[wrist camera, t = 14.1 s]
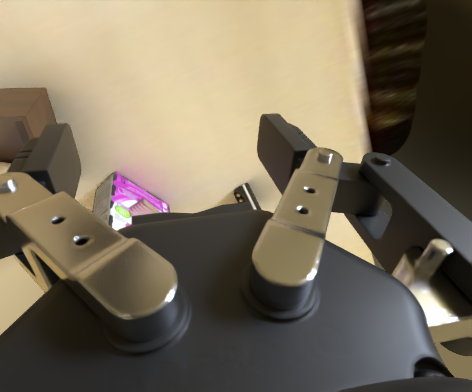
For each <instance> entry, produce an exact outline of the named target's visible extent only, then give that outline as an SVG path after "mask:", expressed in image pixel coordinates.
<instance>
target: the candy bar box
mask: <svg viewBox="0 0 472 392" xmlns="http://www.w3.org/2000/svg"><path fill="white" fill-rule="evenodd" d="M161 212H168V213H170V211H169V205H168V204H166V203H165V202H163V201H161V200H160V199H158V198H157V197H155V196H153V195H152V194H150V193H148V192H147V191H145V190H144V189H142V188H140V187H139V186H137V185H135V184H134V183H132V182H131V181H129V180H127V179H126V178H124V177H123V176H121V175H119V174H118V173H116V172H113V173H112V174H111V175H110V176H109V178H108V179H107V180H106V181H105V182H104V183H103V184H102V185H101V186H100V187H99V188H98V189H97V190H96V193H95V200H94V205H93V212H92V213H94V214H95V215H96V216H98V217H99V218H100V219H102V220H103V221H104V222H106V223H107V224H108V225H110V226H111V227H112V228H114V229H115V230H116V231H117V230H119V229H121V228H123V227H126V226H129V225H132V216H136V215H144V214H152V213H161Z"/></svg>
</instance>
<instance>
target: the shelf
mask: <svg viewBox="0 0 472 392" xmlns="http://www.w3.org/2000/svg"><path fill="white" fill-rule="evenodd" d="M46 124H57V123H56V120H55V116H54V113H53V110H52V107H51V104H50V101H49V98H48V94H47V91H46V88H11V89H0V162H7V163H11V164H12V162H13V160H14V159H16V158H15V157H16V155H17V154H18V153H19V150H20V149H21V147H22V145H23V144H24V143H26V142H27V141H29V140H30V139H32V138H34V137H40V135H41V133H42V131H43V129H44V127H45V125H46Z"/></svg>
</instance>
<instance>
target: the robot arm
mask: <svg viewBox="0 0 472 392" xmlns="http://www.w3.org/2000/svg"><path fill="white" fill-rule="evenodd" d="M257 153H258V157H259V159H260V161H261V162H262V164H263V166H264V167H265V169H266V170H267V172H268V173H269V175H270V177H271V178H272V180H273V181H274V183H275V185H276V186H277V188H278V189H279V191H280V192H281V194H282V198H281V200H280V202H279V204H278V206H277V208H276V210H275V212H274V213H271V212H268V211H263V210H256V209H253V208H252V206H251V204H250V202H243V203H235V204H227V205H221V206H218V207H215V208H211V209H208V210H205V211H202V212H198V213H193V214H191V213H168V212H161V213H152V214H144V215H136V216H132V225H129V226H126V227H123V228H121V229H119V230H117V231H116V230H115V229H114V228H112V227H111V226H110V225H108V224H107V223H106V222H104V221H103V220H102V219H100V218H99V217H98V216H96V215H95V214H94V213H92V212H91V211H90V210H88V209H87V208H86V207H84V206H83V205H82V204H81V203H79V202H78V201H77V200H75V195H76V191H77V187H78V183H79V179H80V175H81V164H80V159H79V155H78V152H77V148H76V145H75V141H74V138H73V135H72V131H71V128H70V126H69V124H67V123H64V124H46V125H45V127H44V129H43V131H42V133H41V135H40V137H34V138H32V139H30V140H29V141H27V142H26V143H24V144H23V145H22V147H21V149H20V150H19V153H18V154H17V155H16V157H15V158H16V159H14V160H13V162H12V164H11V165H10V167H9V169H8V170H7V172H6V173H3V174H0V259H2V258H5V257H8V256H11V255H13V257H14V258H15V259H16V261H17V262H18V263H19V264H20V265H21V266H22V267H23V268H24V269H25V271H26V272H27V273H28V274H29V275H30V276H31V277H32V278H33V279H34V281H35V282H36V283H37V284H38V285H39V286H40V287H41V289H42V290H43V291H44V293H45V294H44V295H43V296H42V297H41V298H39V299H38V300H37V301H36V302H35V303H34V304H33V305H32V306H31V307H30V308H29V309H28V310H27V311H26V312H25V313H24V314H22V315H21V316H20V317H19V318H18V319H17V320H16V321H15V322H14V323H13V324H12V325H11V326H10V327H9V328H8V329H7V330H5V331H4V332H3V333H2V334H1V335H0V392H472V380H468V379H462V378H454V376H453V375H452V374H451V373H450V372H449V370H448V369H447V367H446V366H445V364H444V362H443V360H442V359H441V357H440V355H439V353H438V351H437V349H436V347H435V344H436V343H440V344H441V345H443V346H444V347H445V348H447V349H448V350H450V351H452V352H454V353H456V354H459V355H463V356H472V222H471V221H470V220H468V219H467V218H466V217H465V216H464V215H462V214H461V213H460V212H459V211H457V210H456V209H455V208H454V207H453V206H451V205H450V204H449V203H448V202H447V201H445V200H444V199H443V198H442V197H441V196H439V195H438V194H437V193H436V192H435V191H433V190H432V189H431V188H430V187H429V186H427V185H426V184H425V183H424V182H423V181H421V180H420V179H419V178H418V177H416V176H415V175H414V174H413V173H412V172H411V171H409V170H408V169H407V168H406V167H404V166H403V165H402V164H401V163H400V162H398V161H397V160H396V159H394V158H393V157H391V156H388V155H385V154H381V153H367V154H365V155H364V156H363V159H362V162H361V164H357V163H346V162H343V157H342V156H341V155H340V154H339V153H338V152H336V151H334V150H331V149H327V148H317V147H316V146H315V144H314V143H313V142H312V141H311V140H310V139H309V138H307V136H306V135H305V134H303V132H302V131H301V130H300V129H299V128H298V127H296V126H294V125H292V124H290V123H287V122H286V121H285V120H284V119H283V118H282V117H281V115H280V114H263V115H262V116H261V118H260V125H259V134H258V143H257ZM385 200H388V202H389V203H390V204H391V207H392V216H391V219H390V218H389V217H388V216H387V215H386V214H385V212H384V211H383V210H382V207H383V205H384V203H385ZM331 212H337V213H344V214H345V216H346V218H347V219H348V220H349V222H350V223H351V224H352V226H353V227H354V229H355V230H356V231H357V233H358V234H359V235H360V237H361V238H362V239H363V241H364V242H365V244H366V245H367V246H368V248H369V249H370V250H371V252H372V253H373V254H374V256H375V257H376V258H377V260H378V261H379V263H380V264H381V265H382V267H383V268H384V269H385V271H384V270H382V269H380V268H378V267H376V266H374V265H372V264H371V263H369V262H367V261H365V260H363V259H361V258H359V257H357V256H355V255H354V254H352V253H350V252H348V251H346V250H344V249H342V248H340V247H338V246H337V245H335V244H333V243H331V242H329V241H327V240H325V237H326V236H325V235H326V231H327V226H328V222H329V218H330V214H331Z"/></svg>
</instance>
